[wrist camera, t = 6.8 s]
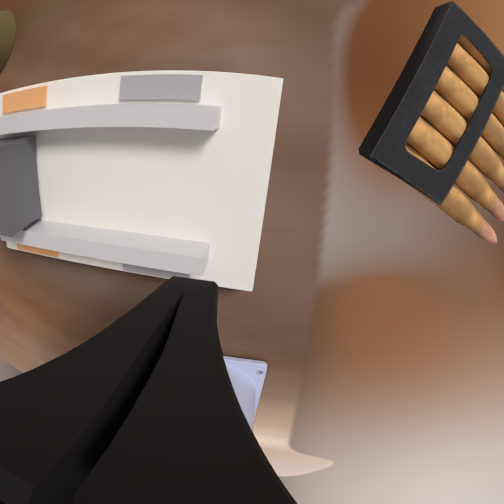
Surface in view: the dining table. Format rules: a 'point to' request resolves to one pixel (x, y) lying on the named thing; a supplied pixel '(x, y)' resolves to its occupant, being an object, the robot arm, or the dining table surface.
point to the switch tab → (18, 184)
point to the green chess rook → (6, 36)
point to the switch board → (150, 170)
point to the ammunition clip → (447, 120)
